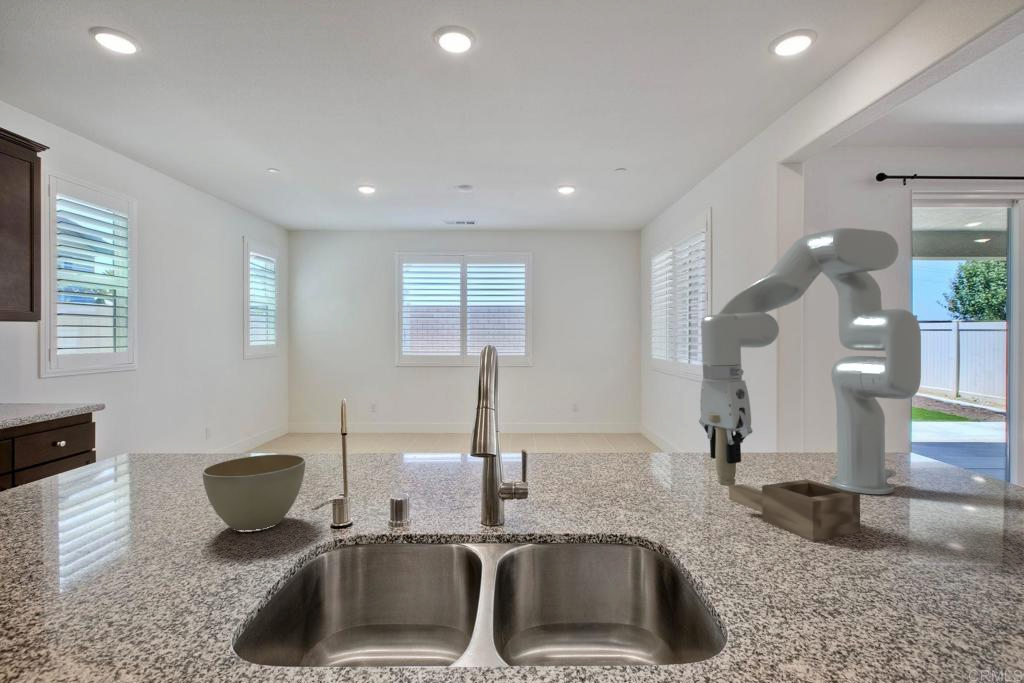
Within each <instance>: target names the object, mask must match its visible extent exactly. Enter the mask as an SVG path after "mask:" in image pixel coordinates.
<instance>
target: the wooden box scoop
mask: <svg viewBox="0 0 1024 683" xmlns="http://www.w3.org/2000/svg"><path fill="white" fill-rule="evenodd" d="M761 487H762V488H761V489H758V488H757V487H756V488H755V487H752V486H749V485H747V484H743V483H742V484H741V483H740V484H735V485H731V486H728V500H729V499H730V500H729V501H732V502H735V503H738V504H740V503H741V504H740V505H742V504H743V506H745V507H747V506H748V508H750V509H752V510H755V509H756V510H755V511H758V512H761V513H762V514H761V515H762V517H761V518H762V520H761V522H764V521H765V522H764V523H767V522H768V523H767V524H769V523H770V524H769V525H771V524H772V526H774V525H775V526H774V527H776V526H777V528H779V529H780V530H781V529H782V530H784V531H787V532H789V533H790V534H793V535H796V536H799V537H801V538H804V539H806V540H809V541H811V542H816V541H817V540H818V541H823V540H827V539H832V537H833V538H836V537H842V535H843V536H848V535H853V534H858V533H861V493H857V492H851V491H847V490H843V489H839V488H837V487H834V486H833V485H828V484H825V483H822V482H818V481H814V480H811V479H801V480H792V481H785V482H777V483H770V484H763V485H761Z"/></svg>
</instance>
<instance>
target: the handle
mask: <svg viewBox="0 0 1024 683" xmlns="http://www.w3.org/2000/svg"><path fill="white" fill-rule="evenodd" d="M707 416H708V420H710V421H711V422H713V423H715V424H717V423H719V422H720V416H719V415H714V414H709V413H707ZM715 429H716V450H715V456H716V457H715V460H714V462H715V469H716V474H717V482H718V484H719V485H720V486H723V487H725V486H726V487H729V486H733V485H736V479H735V477H736V474H737V473H736V471H737V463H732V464H729V463H727V453H726V444H729V442H728V437H727V431H726V429H724V428H720V427H716V428H715Z"/></svg>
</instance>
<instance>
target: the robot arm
mask: <svg viewBox="0 0 1024 683" xmlns="http://www.w3.org/2000/svg"><path fill="white" fill-rule="evenodd" d="M898 256H899V244H898V242H897V240H896V239H895V237H893V236H892V235H891V234H890V233H888V232H886V231H883V230H875V229H865V228H854V227H853V228H852V227H840V228H835V229H834V228H833V229H830V230H826V231H821V232H816V233H812V234H807V235H804V236H802V237H799V239H797V240H796V241H795V242H793V244H792V245H790V247H789V249H787V250H786V252H785V253H784V254H783V255H782V257H781V258H780V259H779V260H778V261H777V262H776V264H775V265H774V266H773V267H772V269H771V270H770V271H769V272H768V273H767V274H766V275H765V276H763V277H761V278H760V279H758V280H757V281H755V282H753V283H752V284H750V285H749V286H748V287H746V288H745V289H743V290H742V291H740V292H738V293H737V294H736V295H735V296H733V297H732V298H730V300H728V302H727V303H726V304H724V305H723V307H722V308H721V310H720V311H718V313H717V314H710V315H706V316H704V317H703V318H701V322H700V330H701V331H700V332H701V355H702V356H701V357H702V358H701V359H702V381H701V388H700V400H699V401H700V407H699V408H700V417H699V420H698V423H699V424H700V425H701V426H702V428H703V429H704V431H705V432H706V434H707V435H706V436H707V439H708V440H709V448H710V449H709V450H710V451H709V453H710V458H711V459H715V457H716V456H715V450H716V427H720V428H724V429H726V431H727V437H728V442H729V444H726V453H727V463H729V464H732V463H736V464H737V463H738V464H739V463H741V462H742V452H741V451H742V450H741V444H743V442H744V440H745V439H746V437H748V436H749V435H751V434H752V433H753V429H752V413H751V412H752V411H751V402H750V396H749V390H748V386H747V383H746V380H743V377H742V376H743V375H744V370H743V369H742V351H741V350H742V349H741V348H747V349H748V348H752V349H754V348H756V349H757V348H764V347H767V346H770V345H771V344H773V342H774V341H776V339H777V338H778V335H779V332H780V327H779V324H778V321H777V319H776V318H775V317H773V315H770V314H769V313H767V312H771V311H773V310H776V309H780V308H783V307H785V306H787V305H790V304H792V303H793V302H795V301H798V300H799V299H801V298H802V296H803V295H804V294H805V293H806V291H807V290H808V289H809V287H810V286H811V285H812V284H813V282H814V281H815V280H816V279H817V278H818V276H819V275H820V274H821V273H822V274H823V275H824V276H825V277H827V279H829V281H830V282H831V283H832V284H833V285H834V288H835V290H836V292H837V298H838V338H839V342H840V345H842V347H844V348H846V349H848V350H851V351H852V350H853V351H865V352H866V351H870V352H871V351H873V352H874V351H875V352H877V351H878V352H879V351H880V352H885V356H874V355H873V356H872V355H871V356H870V355H868V356H867V355H852V356H851V355H850V356H846V357H843V358H841V359H839V360H837V361H835V363H834V364H833V366H832V368H831V374H830V377H831V383H832V386H833V387H832V388H833V390H834V395H835V396H834V397H835V401H836V402H835V403H836V404H835V405H836V406H835V407H836V468H837V471H836V474H837V475H836V476H832V477H830V478H829V483H830V486H832V487H836V488H839V489H843V490H847V491H850V492H854V493H857V494H865V495H889V494H892V493H893V492H894V491H895V490H894V488H895V487H894V485H893V484H891V483H889V482H888V480H887V479H890V478H895V477H896V475H897V472H896V470H895V469H893V468H889V469H887V468H886V437H885V436H886V435H885V434H886V428H885V427H886V422H885V421H886V418H885V412H884V410H883V408H882V406H881V405H880V403H879V401H878V400H877V399H876V398H881V399H891V400H908V399H910V398H913V397H914V396H916V394H917V393H918V391H919V390H920V387H921V379H922V377H921V376H922V335H921V334H922V332H921V327H920V323H919V322H918V319H917V318H916V316H915V315H914V314H913V313H912V312H910V311H908V310H905V309H900V308H892V309H883V308H882V290H881V287H880V285H879V284H878V282H877V280H876V279H875V278H874V277H873V276H872V274H870V272H873V271H875V272H876V271H881V270H885V269H888V268H889V267H891V266H893V264H894V263H895V262H896V260H897V259H898ZM707 413H709V414H714V415H719V416H720V422H719V423H717V424H715V423H713V422H711V421H710V420H708V416H707ZM734 432H735V434H734ZM715 460H716V459H715Z"/></svg>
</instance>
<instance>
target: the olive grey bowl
mask: <svg viewBox="0 0 1024 683" xmlns="http://www.w3.org/2000/svg"><path fill="white" fill-rule="evenodd" d="M305 469H306V458H305V457H303V456H302V455H296V454H289V453H288V454H284V453H283V454H282V453H281V454H280V453H278V454H277V453H275V454H260V455H251V456H245V457H239V458H232V459H229V460H225V461H224V460H223V461H220V462H217V463H213V464H211V465H209V466H206V467H205V468H203V470H202V481H203V486H204V489H205V493H206V495H207V498H208V501H209V502H210V505H211V507H212V508H213V510H214V512H215V513H216V514H217V515H218V517H219V518H220V519H221V520H222V521H223V522H224V524H226V525H227V526H228V527H229V528H230V529H231V528H232V529H231V530H233V529H235V530H244V531H245V530H256V529H263V528H267V527H270V526H273V525H276V524H278V523H279V522H280V523H281V522H282V521H283V519H284V518H285V517H286V515H287V514H288V512H289V511H290V510H291V508H292V507H293V506H294V503H295V501H296V500H297V497H298V495H299V493H300V489H301V487H302V484H303V479H304V475H305ZM280 523H279V524H280ZM279 524H278V525H279ZM276 526H277V525H276Z"/></svg>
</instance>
